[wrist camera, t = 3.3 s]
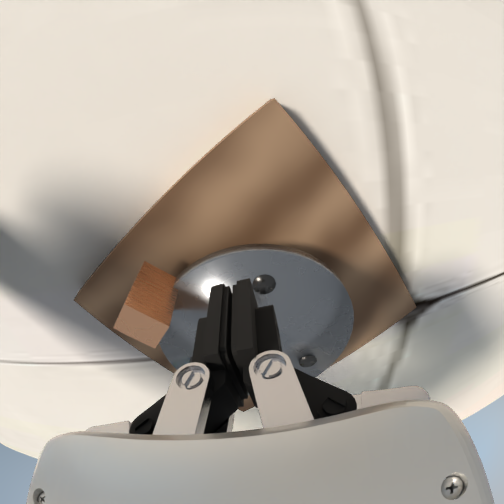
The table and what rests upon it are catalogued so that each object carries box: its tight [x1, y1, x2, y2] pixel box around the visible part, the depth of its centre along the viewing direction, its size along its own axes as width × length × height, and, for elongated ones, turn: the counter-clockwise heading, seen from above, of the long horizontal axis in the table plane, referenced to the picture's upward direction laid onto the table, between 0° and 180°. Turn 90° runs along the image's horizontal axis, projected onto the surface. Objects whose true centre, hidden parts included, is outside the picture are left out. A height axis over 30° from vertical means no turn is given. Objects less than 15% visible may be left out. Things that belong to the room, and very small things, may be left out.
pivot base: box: [74, 98, 416, 412], centre depth 23 cm, size 25×25×9 cm
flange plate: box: [113, 244, 354, 395], centre depth 21 cm, size 18×16×5 cm
